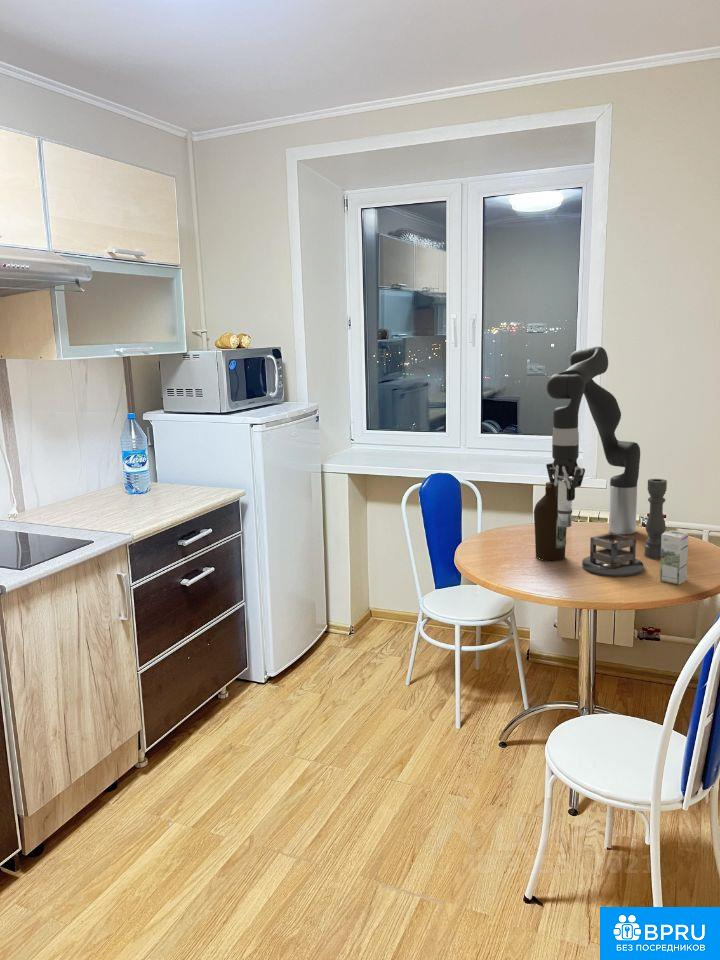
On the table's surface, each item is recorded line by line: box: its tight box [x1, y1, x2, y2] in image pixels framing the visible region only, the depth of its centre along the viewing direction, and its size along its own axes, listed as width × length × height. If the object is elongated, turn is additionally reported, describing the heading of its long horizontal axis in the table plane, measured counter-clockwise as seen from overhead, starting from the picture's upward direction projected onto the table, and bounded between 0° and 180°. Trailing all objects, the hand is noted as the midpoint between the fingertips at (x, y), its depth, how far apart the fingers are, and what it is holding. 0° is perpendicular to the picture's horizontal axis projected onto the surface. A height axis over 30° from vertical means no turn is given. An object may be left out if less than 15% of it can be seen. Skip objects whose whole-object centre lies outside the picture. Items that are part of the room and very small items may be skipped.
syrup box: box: [659, 529, 689, 586], centre depth 208 cm, size 6×6×14 cm
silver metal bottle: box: [557, 478, 573, 528], centre depth 215 cm, size 4×4×14 cm
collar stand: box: [581, 532, 644, 578], centre depth 222 cm, size 18×18×10 cm
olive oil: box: [533, 481, 568, 562], centre depth 234 cm, size 11×11×25 cm
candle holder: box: [644, 478, 668, 560], centre depth 230 cm, size 6×6×25 cm
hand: (565, 498), depth 215 cm, fingers closed on silver metal bottle, 4 cm apart
